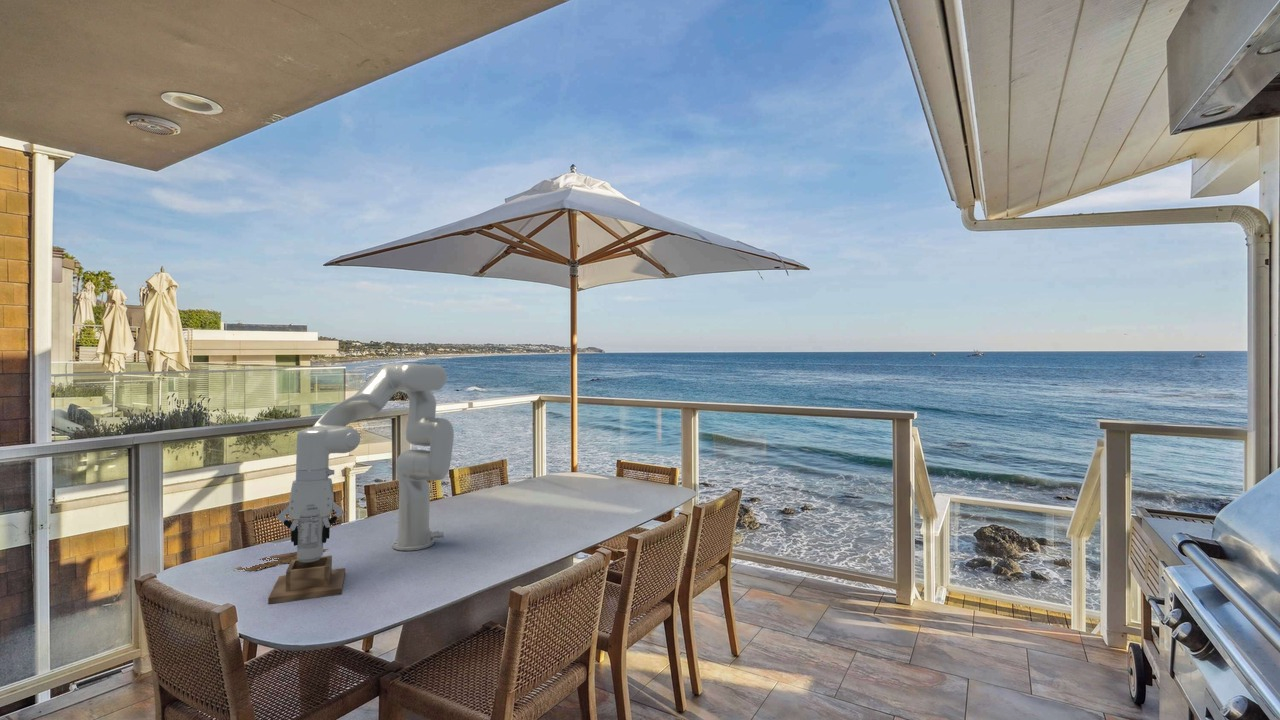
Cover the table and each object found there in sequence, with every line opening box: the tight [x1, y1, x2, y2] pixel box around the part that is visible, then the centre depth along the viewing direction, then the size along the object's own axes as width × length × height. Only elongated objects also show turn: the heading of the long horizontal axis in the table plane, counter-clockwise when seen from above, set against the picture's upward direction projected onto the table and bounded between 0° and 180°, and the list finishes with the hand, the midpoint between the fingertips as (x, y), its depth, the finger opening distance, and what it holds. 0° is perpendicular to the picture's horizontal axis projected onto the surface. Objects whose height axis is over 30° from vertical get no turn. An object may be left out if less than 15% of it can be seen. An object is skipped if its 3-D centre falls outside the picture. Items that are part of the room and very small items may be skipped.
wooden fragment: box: [233, 548, 329, 572], centre depth 170 cm, size 26×11×1 cm, turn 138°
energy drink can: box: [296, 504, 325, 563], centre depth 149 cm, size 6×6×15 cm
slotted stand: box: [267, 555, 346, 605], centre depth 149 cm, size 16×16×6 cm
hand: (310, 542), depth 149 cm, fingers closed on energy drink can, 6 cm apart
